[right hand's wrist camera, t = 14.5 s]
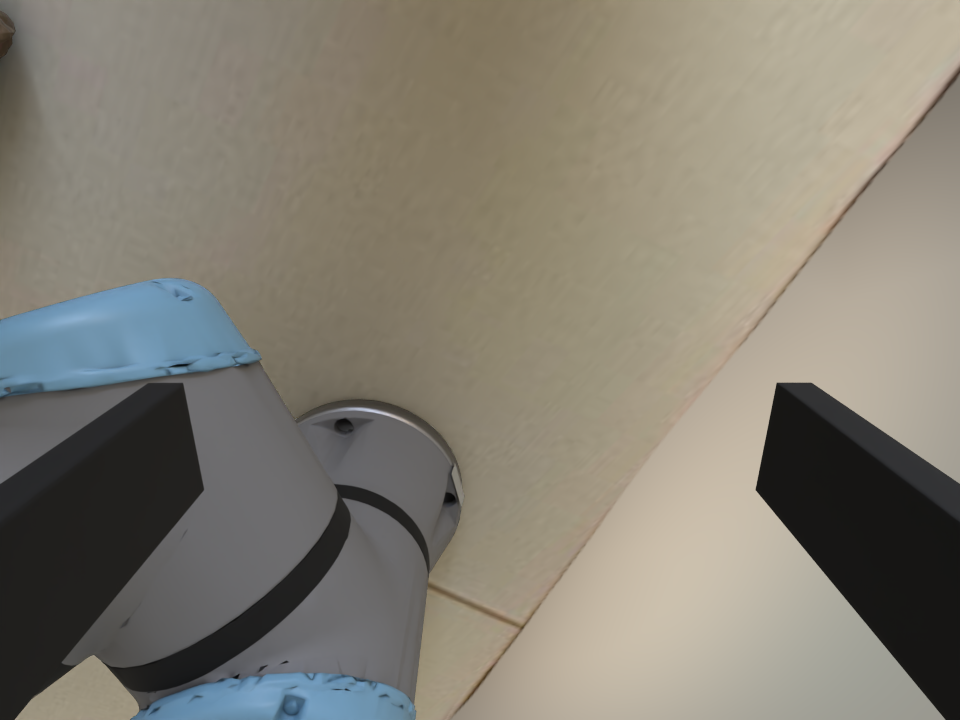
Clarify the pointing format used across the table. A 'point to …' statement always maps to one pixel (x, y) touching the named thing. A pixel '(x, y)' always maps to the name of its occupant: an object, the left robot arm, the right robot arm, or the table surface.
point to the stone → (5, 33)
